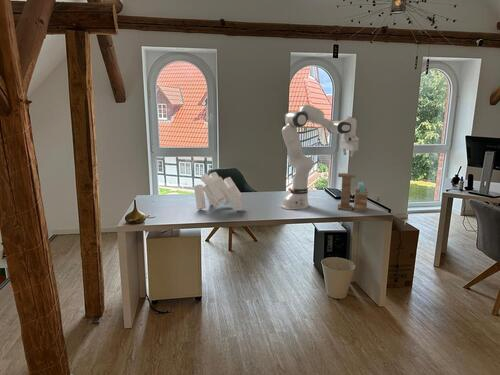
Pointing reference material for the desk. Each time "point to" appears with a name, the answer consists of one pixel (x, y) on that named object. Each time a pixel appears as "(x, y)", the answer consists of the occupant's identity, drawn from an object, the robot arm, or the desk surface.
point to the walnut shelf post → (345, 191)
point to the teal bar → (361, 187)
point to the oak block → (360, 200)
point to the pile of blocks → (217, 191)
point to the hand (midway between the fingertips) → (348, 155)
